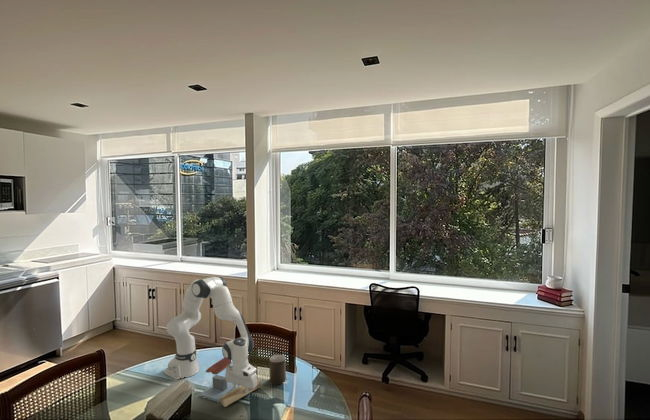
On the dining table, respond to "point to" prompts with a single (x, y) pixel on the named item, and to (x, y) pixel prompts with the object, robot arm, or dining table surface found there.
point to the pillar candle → (277, 369)
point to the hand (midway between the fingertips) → (241, 391)
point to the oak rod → (237, 394)
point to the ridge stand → (218, 388)
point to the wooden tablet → (219, 366)
